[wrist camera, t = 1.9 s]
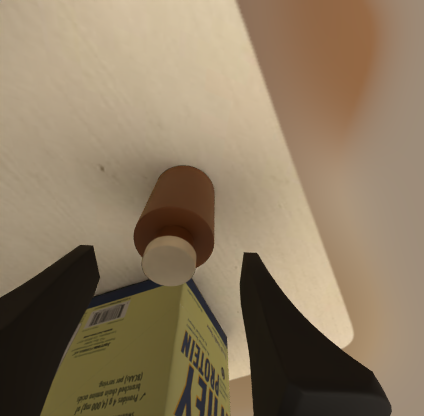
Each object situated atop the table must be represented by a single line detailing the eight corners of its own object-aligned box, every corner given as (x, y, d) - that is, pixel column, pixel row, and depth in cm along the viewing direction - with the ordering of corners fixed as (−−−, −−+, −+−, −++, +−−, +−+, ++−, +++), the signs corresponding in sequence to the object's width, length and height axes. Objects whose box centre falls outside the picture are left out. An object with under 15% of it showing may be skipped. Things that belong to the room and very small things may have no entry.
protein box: (230, 336, 28) (244, 600, 14) (104, 368, 31) (17, 611, 17) (187, 264, 23) (147, 557, 10) (43, 311, 26) (-141, 582, 13)
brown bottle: (213, 220, 21) (212, 301, 14) (156, 217, 21) (127, 297, 14) (216, 166, 19) (216, 231, 12) (153, 163, 19) (116, 226, 12)
